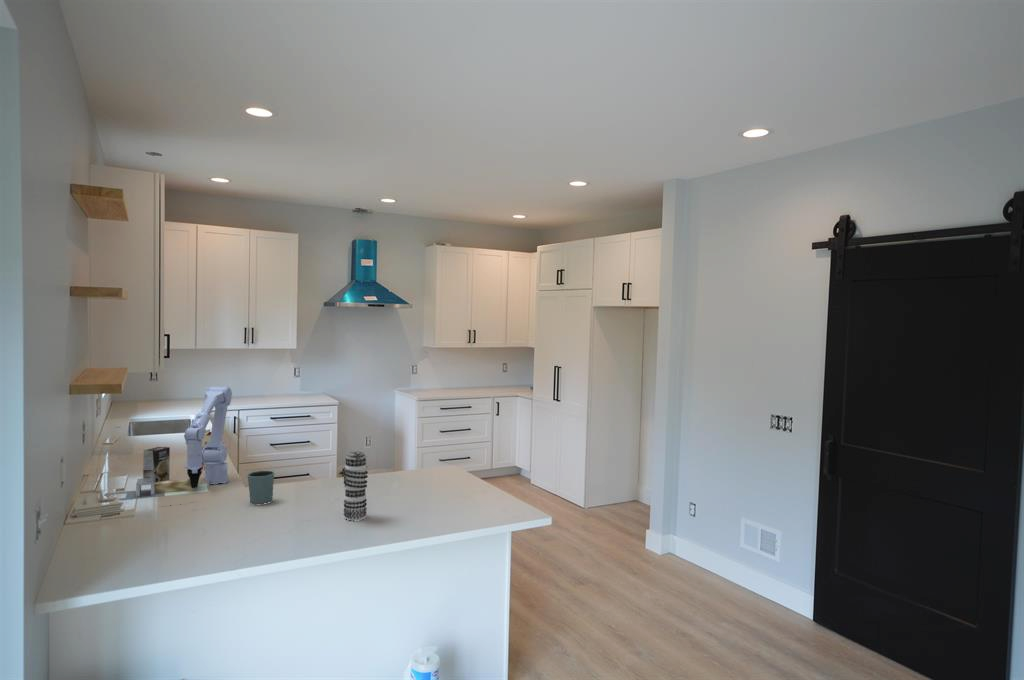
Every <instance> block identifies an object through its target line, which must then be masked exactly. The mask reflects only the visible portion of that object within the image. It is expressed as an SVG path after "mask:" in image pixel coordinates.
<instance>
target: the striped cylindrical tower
mask: <svg viewBox="0 0 1024 680" xmlns="http://www.w3.org/2000/svg"><path fill="white" fill-rule="evenodd" d="M367 457H368V456H367V455H365V453H364V452H363V451H350V452H348V454H347V455H345V464H344V465H345V466H344V467H343V475H344V476H343V484H344V487H343V489H345V494H344V500H343V507H344V508H343V516H344V517H343V519H344V518H345V519H347V520H352V521H351V522H354V521H353V520H360V521H363V520H362V519H364V520H366V519H367V512H368V511H367V509H368V508H367V507H366V506H367V504H368V503H367V501H368V500H367V498H366V497H367V495H366V489H367V487H368V484H367V483H368V480H366V479H367V478H368V477H369V476H368V475H367V474H368V473H369V471H367V470H366V469H367V468H368V466H367ZM347 520H346V521H347Z"/></svg>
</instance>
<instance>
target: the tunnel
mask: <svg viewBox="0 0 1024 680" xmlns="http://www.w3.org/2000/svg"><path fill="white" fill-rule="evenodd" d="M135 485H136V486H135V487H136V488H135V491H136V497H140V492H141V490H142V486H148V485H149V486H150V489H151V496H154V491H155V477H153V478H143V477H142V478H137V481H136V484H135Z"/></svg>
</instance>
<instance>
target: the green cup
mask: <svg viewBox="0 0 1024 680" xmlns="http://www.w3.org/2000/svg"><path fill="white" fill-rule="evenodd" d="M247 483H248V490H249V491H248V493H249V503H252V504H264V503H268V502H271V501H272V500H274V497H273V496H274V492H273V491H274V483H275V471H273V470H257V471H252V472H250V473H248V474H247ZM272 502H273V501H272ZM272 502H271V503H272ZM252 504H251V505H252Z"/></svg>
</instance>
